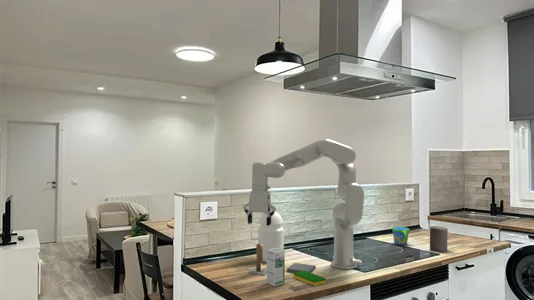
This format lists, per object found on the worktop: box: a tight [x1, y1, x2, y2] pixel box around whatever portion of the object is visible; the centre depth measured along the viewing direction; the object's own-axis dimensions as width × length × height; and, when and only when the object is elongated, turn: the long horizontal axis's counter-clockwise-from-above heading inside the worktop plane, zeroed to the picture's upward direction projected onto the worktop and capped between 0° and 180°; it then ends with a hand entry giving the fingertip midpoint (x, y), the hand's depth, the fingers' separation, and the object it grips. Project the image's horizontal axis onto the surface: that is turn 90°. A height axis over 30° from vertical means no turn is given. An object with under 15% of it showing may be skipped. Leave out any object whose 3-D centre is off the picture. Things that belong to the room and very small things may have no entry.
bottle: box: [257, 206, 285, 263], centre depth 195 cm, size 14×14×28 cm
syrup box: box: [266, 248, 286, 287], centre depth 157 cm, size 6×6×14 cm
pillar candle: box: [429, 225, 449, 253], centre depth 217 cm, size 10×10×15 cm
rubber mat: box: [286, 262, 317, 274], centre depth 176 cm, size 11×11×2 cm
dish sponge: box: [293, 271, 327, 287], centre depth 161 cm, size 7×14×2 cm, turn 37°
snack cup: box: [391, 226, 410, 246], centre depth 233 cm, size 16×10×10 cm
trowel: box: [248, 243, 267, 276], centre depth 172 cm, size 8×6×13 cm
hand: (259, 224), depth 172 cm, fingers open, 9 cm apart
